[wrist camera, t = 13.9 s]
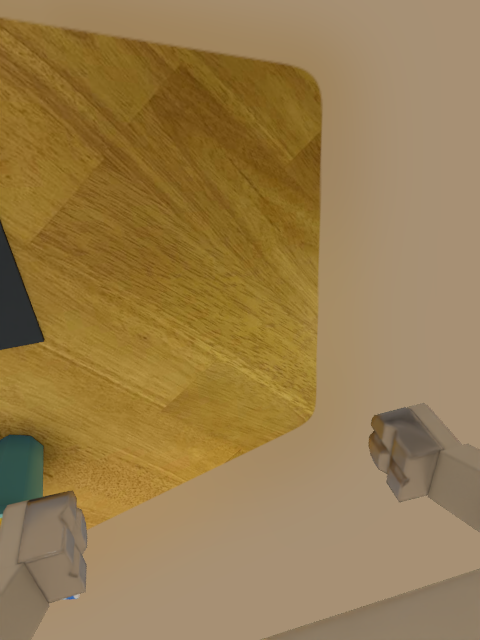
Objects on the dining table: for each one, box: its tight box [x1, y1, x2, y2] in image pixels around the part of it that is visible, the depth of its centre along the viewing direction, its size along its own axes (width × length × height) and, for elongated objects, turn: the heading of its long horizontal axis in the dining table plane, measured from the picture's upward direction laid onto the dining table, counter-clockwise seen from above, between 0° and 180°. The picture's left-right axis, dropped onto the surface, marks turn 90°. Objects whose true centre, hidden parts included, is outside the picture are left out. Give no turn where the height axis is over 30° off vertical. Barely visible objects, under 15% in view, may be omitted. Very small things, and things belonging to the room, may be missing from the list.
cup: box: [0, 435, 80, 600], centre depth 43 cm, size 14×8×15 cm, turn 48°
